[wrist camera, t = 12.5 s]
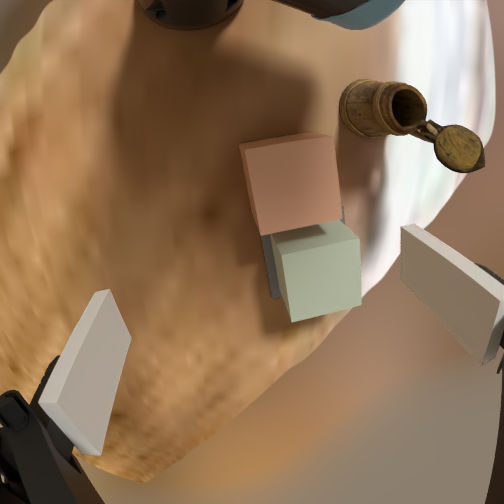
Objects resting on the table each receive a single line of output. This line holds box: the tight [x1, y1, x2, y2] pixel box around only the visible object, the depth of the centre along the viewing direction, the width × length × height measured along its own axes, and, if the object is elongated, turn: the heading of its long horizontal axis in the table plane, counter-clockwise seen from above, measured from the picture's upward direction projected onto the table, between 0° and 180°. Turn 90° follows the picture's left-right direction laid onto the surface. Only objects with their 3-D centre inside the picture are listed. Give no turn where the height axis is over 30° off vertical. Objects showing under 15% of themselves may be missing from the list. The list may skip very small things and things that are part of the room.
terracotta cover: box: [239, 132, 342, 236], centre depth 40 cm, size 10×10×9 cm
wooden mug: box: [339, 79, 485, 173], centre depth 34 cm, size 9×14×18 cm, turn 55°
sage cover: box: [270, 220, 361, 322], centre depth 45 cm, size 10×10×9 cm
